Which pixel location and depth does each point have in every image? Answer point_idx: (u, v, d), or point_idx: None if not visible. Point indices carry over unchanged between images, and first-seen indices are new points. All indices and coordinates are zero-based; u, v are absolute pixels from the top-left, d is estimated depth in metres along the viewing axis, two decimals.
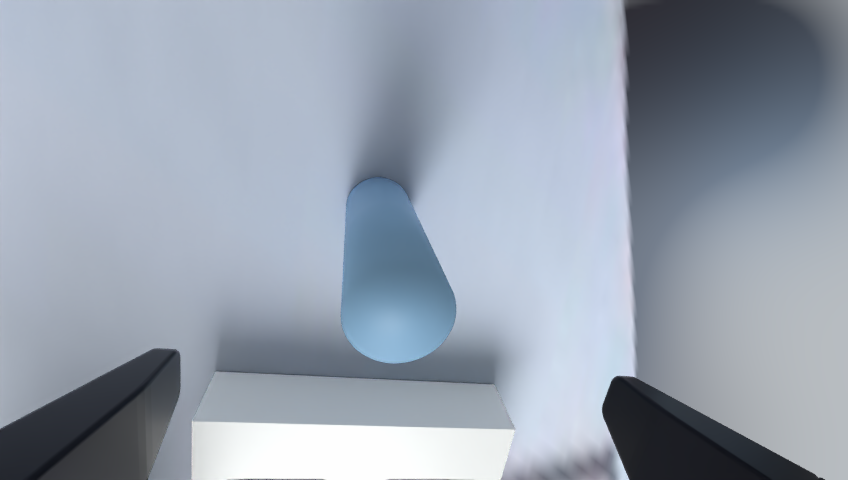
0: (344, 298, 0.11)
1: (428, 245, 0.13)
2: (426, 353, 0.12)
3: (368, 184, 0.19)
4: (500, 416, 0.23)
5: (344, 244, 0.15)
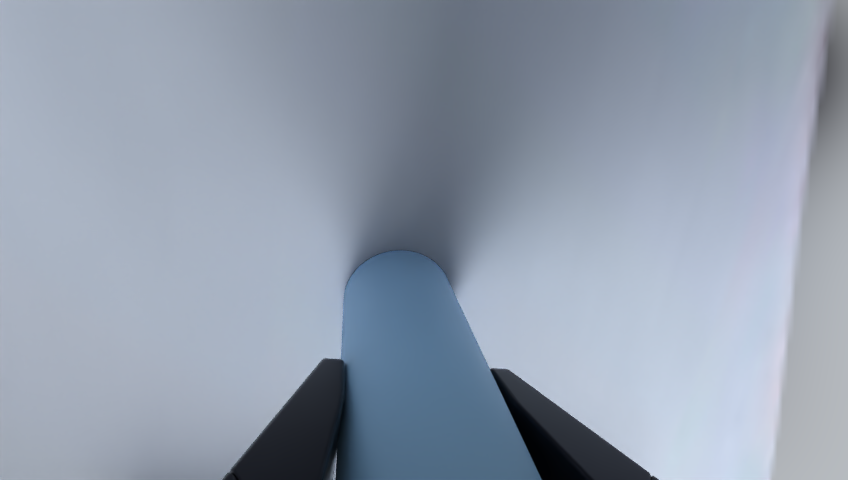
0: None
1: None
2: None
3: (383, 270, 0.11)
4: None
5: (337, 448, 0.07)
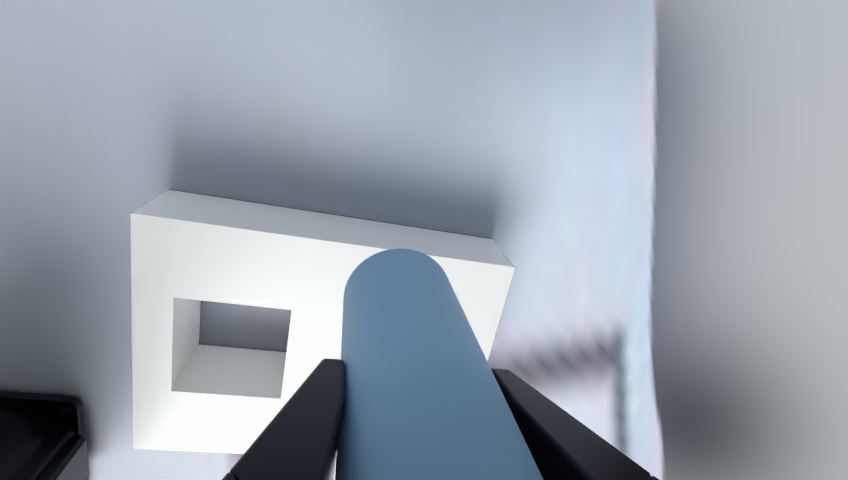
0: None
1: None
2: None
3: (383, 268, 0.11)
4: (498, 257, 0.20)
5: (337, 445, 0.07)
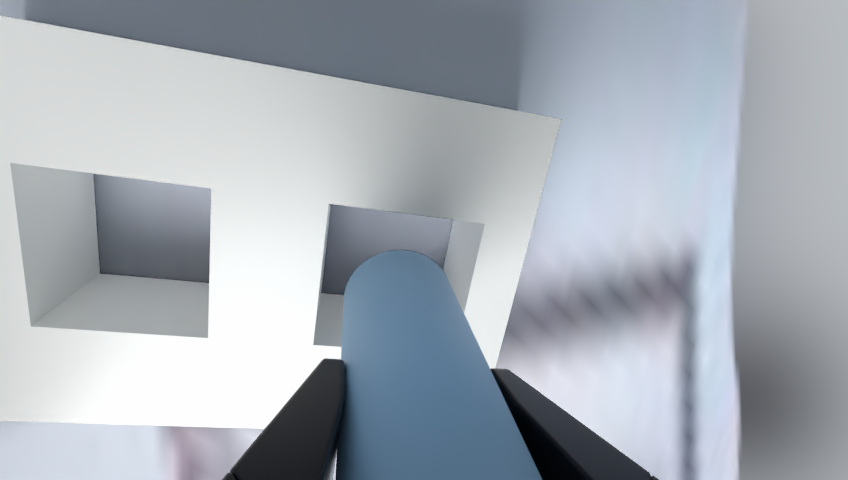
0: None
1: None
2: None
3: (383, 269, 0.11)
4: (532, 113, 0.13)
5: (337, 447, 0.07)
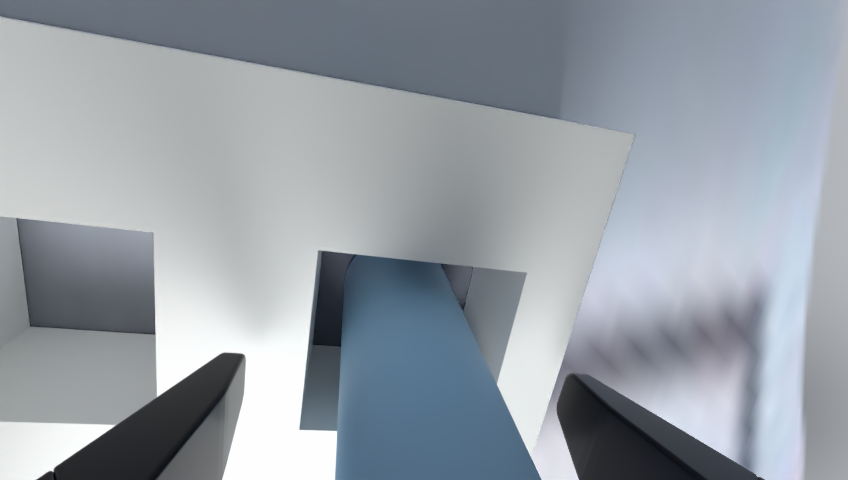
0: None
1: (529, 466, 0.06)
2: None
3: None
4: None
5: (338, 404, 0.08)
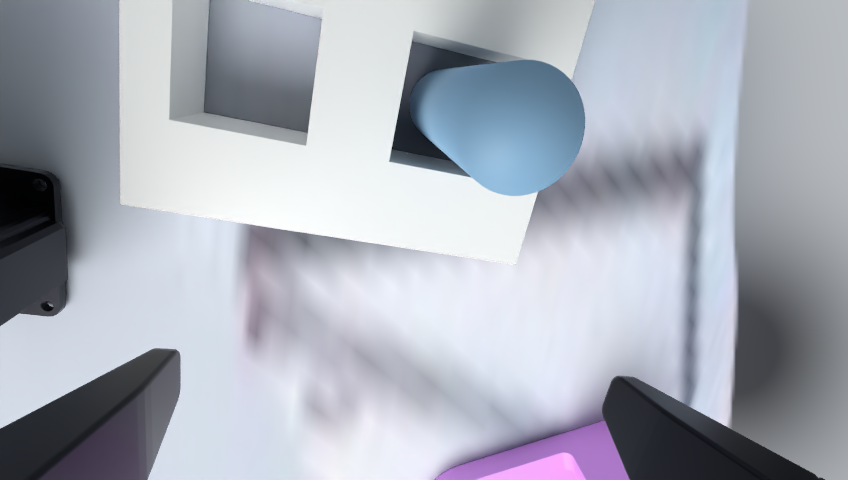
0: (463, 103, 0.10)
1: None
2: (544, 186, 0.10)
3: None
4: None
5: (428, 104, 0.14)
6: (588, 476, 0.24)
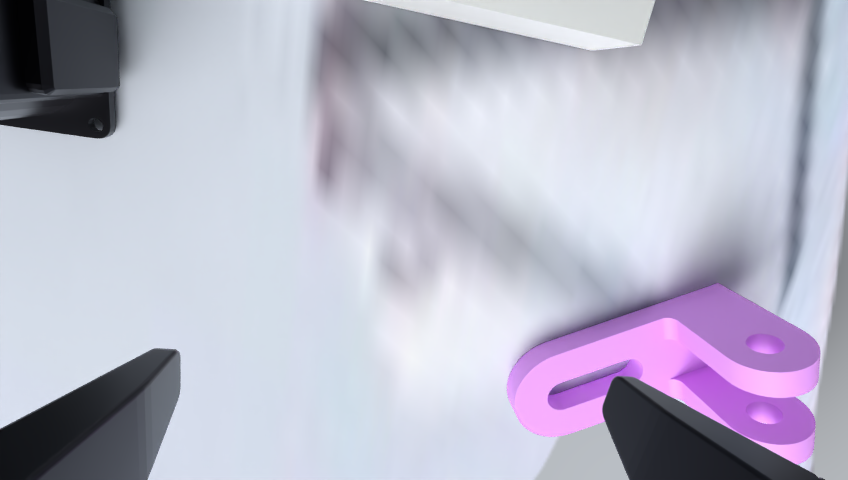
0: None
1: None
2: None
3: None
4: None
5: None
6: (701, 333, 0.21)
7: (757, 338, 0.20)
